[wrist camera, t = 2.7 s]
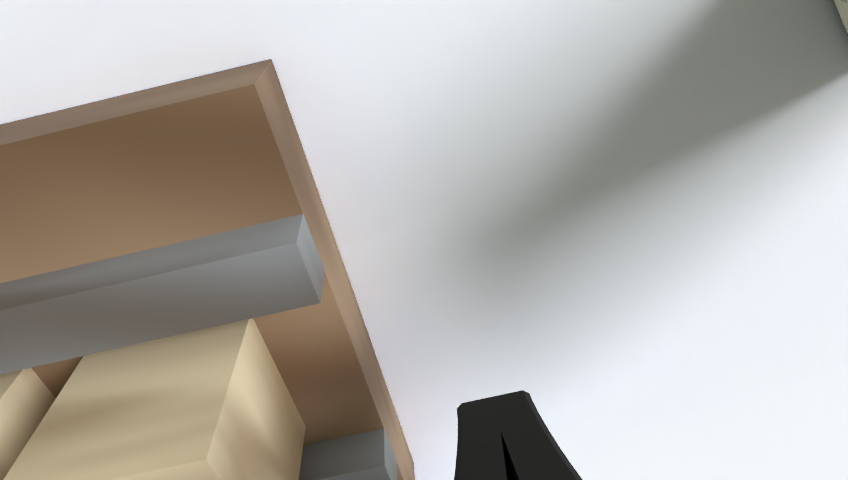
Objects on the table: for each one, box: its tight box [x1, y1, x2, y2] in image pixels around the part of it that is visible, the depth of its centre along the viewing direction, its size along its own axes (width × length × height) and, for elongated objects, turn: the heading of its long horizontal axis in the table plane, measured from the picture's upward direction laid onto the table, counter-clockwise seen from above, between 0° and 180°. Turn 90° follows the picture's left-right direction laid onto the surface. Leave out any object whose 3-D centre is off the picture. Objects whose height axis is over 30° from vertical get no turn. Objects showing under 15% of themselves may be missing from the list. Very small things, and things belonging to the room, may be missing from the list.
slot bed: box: [0, 59, 415, 480], centre depth 14 cm, size 14×14×3 cm
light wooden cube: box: [3, 318, 306, 480], centre depth 12 cm, size 4×4×4 cm
